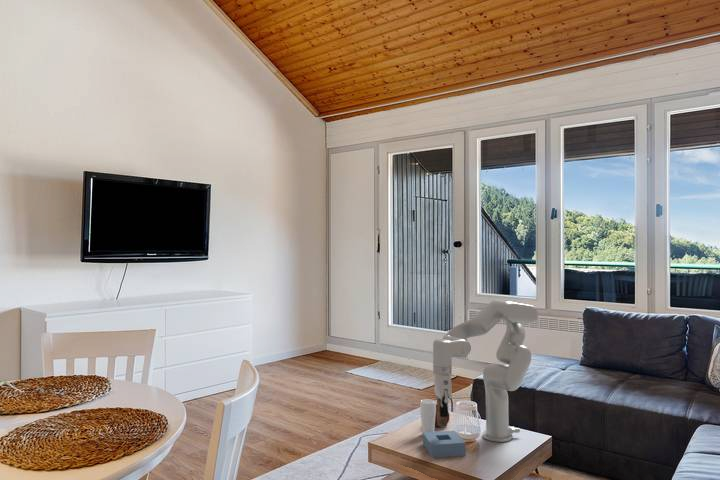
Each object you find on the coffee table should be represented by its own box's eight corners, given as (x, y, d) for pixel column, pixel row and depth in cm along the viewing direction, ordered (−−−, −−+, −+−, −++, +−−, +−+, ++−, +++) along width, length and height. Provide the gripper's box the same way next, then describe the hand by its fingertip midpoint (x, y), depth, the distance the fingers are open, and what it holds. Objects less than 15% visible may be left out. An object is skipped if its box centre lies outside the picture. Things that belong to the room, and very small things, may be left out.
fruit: (439, 431, 236) (439, 409, 236) (423, 425, 244) (423, 404, 244) (455, 426, 243) (454, 404, 243) (438, 420, 251) (438, 399, 251)
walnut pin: (445, 423, 217) (445, 393, 217) (448, 426, 213) (448, 396, 213) (436, 423, 216) (436, 394, 217) (438, 426, 212) (438, 396, 213)
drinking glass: (432, 431, 236) (431, 398, 236) (438, 436, 229) (438, 402, 229) (418, 433, 234) (417, 399, 234) (424, 438, 227) (424, 404, 227)
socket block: (455, 442, 223) (454, 430, 223) (465, 455, 209) (465, 442, 209) (422, 444, 221) (422, 432, 221) (431, 457, 207) (431, 444, 207)
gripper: (457, 374, 207) (457, 421, 207) (445, 365, 224) (445, 408, 224) (439, 374, 206) (438, 421, 206) (428, 365, 223) (428, 409, 223)
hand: (442, 414), depth 215 cm, fingers closed on walnut pin, 4 cm apart
